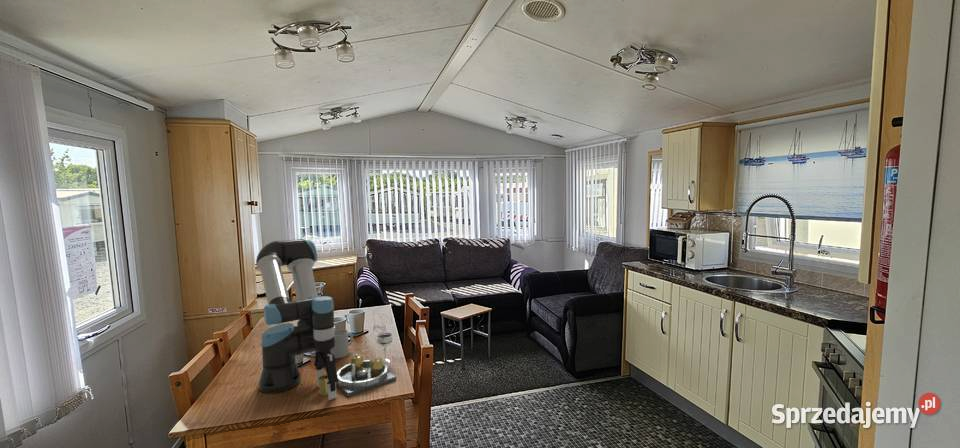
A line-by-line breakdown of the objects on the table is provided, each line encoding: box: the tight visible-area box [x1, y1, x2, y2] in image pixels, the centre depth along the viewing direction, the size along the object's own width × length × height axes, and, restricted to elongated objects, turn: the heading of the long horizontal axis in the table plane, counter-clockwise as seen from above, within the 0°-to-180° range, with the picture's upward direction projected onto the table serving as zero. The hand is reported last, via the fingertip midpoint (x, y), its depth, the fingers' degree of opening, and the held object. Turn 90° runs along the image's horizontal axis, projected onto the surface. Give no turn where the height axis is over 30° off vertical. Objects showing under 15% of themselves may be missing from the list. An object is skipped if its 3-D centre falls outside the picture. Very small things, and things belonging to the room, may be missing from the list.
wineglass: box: [376, 332, 393, 364], centre depth 175 cm, size 7×7×12 cm
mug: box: [330, 328, 354, 359], centre depth 183 cm, size 12×8×11 cm
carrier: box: [336, 353, 397, 397], centre depth 157 cm, size 20×20×8 cm
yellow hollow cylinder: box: [318, 373, 329, 396], centre depth 147 cm, size 5×5×6 cm
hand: (326, 391), depth 147 cm, fingers open, 12 cm apart
